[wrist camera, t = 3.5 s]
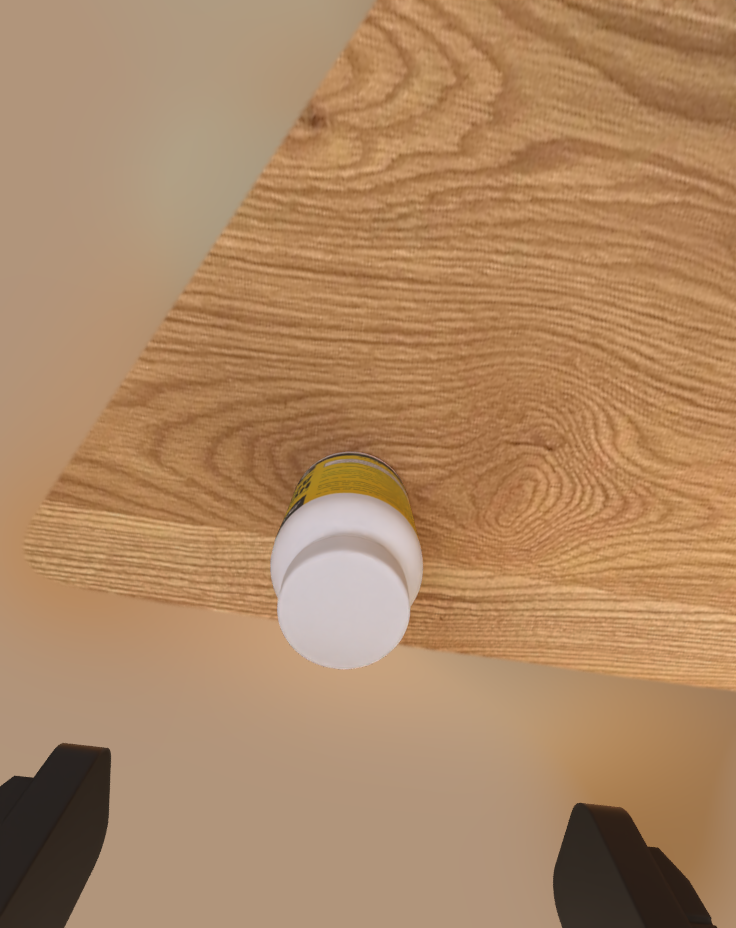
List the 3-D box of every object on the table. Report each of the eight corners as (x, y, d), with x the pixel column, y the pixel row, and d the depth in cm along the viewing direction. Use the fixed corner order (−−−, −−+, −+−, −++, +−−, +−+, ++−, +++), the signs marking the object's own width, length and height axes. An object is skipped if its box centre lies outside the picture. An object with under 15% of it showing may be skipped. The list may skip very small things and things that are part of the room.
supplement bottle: (300, 440, 24) (263, 514, 15) (416, 457, 24) (453, 540, 15) (286, 549, 25) (245, 679, 16) (396, 563, 26) (420, 700, 16)
